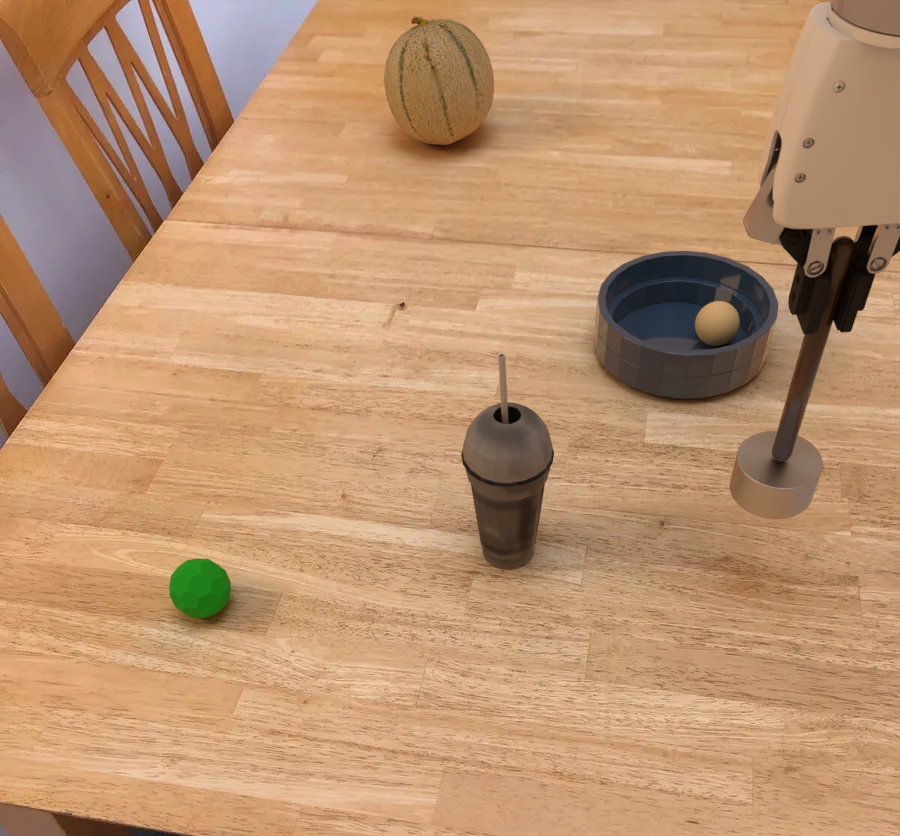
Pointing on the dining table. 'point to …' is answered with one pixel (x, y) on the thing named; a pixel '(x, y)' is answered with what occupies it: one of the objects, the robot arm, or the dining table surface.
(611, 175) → the dining table surface
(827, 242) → the robot arm
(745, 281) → the bowl
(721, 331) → the yellow ball
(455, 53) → the cantaloupe
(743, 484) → the weighted rod stand
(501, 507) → the beverage cup
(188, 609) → the polyhedron
